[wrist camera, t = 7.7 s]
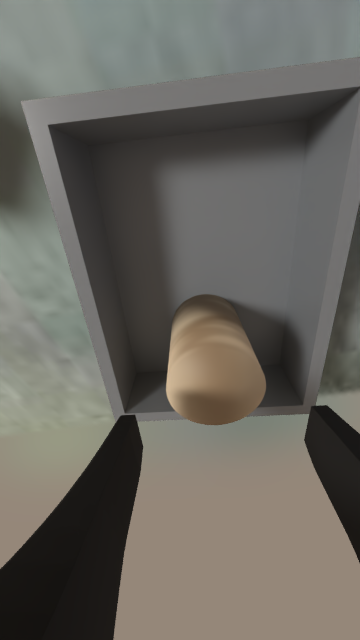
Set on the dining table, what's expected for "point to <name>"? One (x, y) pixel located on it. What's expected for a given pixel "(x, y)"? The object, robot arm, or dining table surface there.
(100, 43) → the dining table surface
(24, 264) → the dining table surface
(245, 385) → the wooden cylinder
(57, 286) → the dining table surface
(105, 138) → the tote
